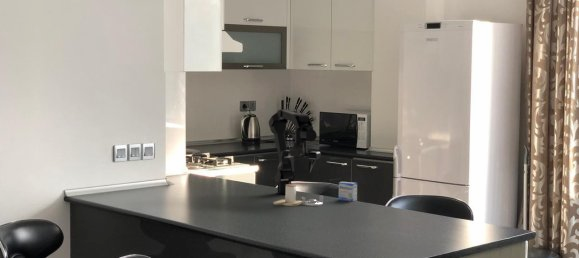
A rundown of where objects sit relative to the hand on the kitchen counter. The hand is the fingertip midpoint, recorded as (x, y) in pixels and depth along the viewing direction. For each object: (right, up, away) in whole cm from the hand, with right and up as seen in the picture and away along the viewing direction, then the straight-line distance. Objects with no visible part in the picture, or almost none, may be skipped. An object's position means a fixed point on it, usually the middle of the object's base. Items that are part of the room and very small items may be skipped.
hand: (301, 171), depth 388 cm
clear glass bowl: (+5, -14, -14) cm, 21 cm away
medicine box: (+22, -14, -3) cm, 26 cm away
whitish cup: (-5, -13, -15) cm, 20 cm away
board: (-6, -14, -13) cm, 20 cm away
